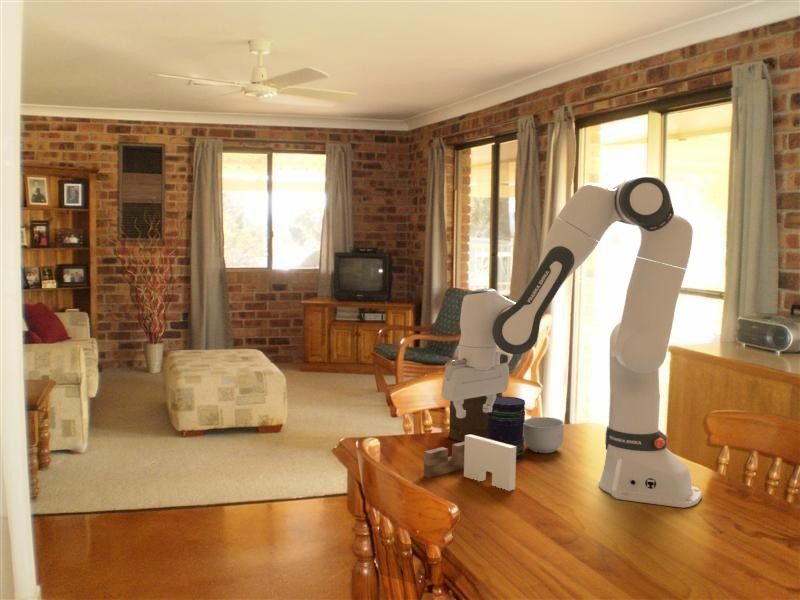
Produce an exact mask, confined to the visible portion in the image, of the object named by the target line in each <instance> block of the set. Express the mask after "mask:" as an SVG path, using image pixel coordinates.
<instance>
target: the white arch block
mask: <svg viewBox="0 0 800 600" xmlns="http://www.w3.org/2000/svg"><path fill="white" fill-rule="evenodd" d="M516 468H517V461H516V446H512V445H509V444H505V443H501V442H498V441H494V440H490V439H486V438H483V437H479V436H475V435H471V434H469V435H465V449H464V468H463V477H465V478H468V479H471V480H473V479H474V481H476V480H477V481H476V482H480V481H481V482H484V481H486V480H487V479H486V478H487V477H486V476H487V472H489V473H491V486H493V487H495V486H496V487H495V488H499V489H501V488H502V490H504V489H505V490H504V491H509V492H511V491H513V490H516Z"/></svg>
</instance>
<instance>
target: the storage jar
mask: <svg viewBox="0 0 800 600" xmlns="http://www.w3.org/2000/svg"><path fill="white" fill-rule="evenodd" d="M525 405H526V400H524V399H523V398H519V397H513V396H503V395H502V396H501V397H496V400H495V402H494V404H493V405H492V412H490V413H487V421H488V434H487V435H486V439H490V440H494V441H498V442H501V443H505V444H509V445H512V446H516V462H518V461H517V460H520V461H522V460H523V459H522V458H524V449H525V441H524V430H523V423H524V421H525V420H526V419H525V416H526V407H525ZM521 459H522V460H521Z"/></svg>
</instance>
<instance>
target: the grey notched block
mask: <svg viewBox="0 0 800 600" xmlns="http://www.w3.org/2000/svg"><path fill="white" fill-rule="evenodd" d="M451 448H452V450H451V456H449V448H447V447H443V446H440V447H437V448H433V449H430V450H429V449H428V450H425V451H424V453H423V477H424V478H425V477H426V478H427V479H428V478H430V479H431V478H432V479H433V478H434V477H439V476H441V475H442V476H443V475H445V474H448V473H452V472H453V473H454V472H457V471H459V469H460V470H463V469H464V449H465V441H464V442H457V443H453V444H452V446H451ZM462 468H463V469H462Z"/></svg>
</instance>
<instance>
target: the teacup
mask: <svg viewBox="0 0 800 600" xmlns="http://www.w3.org/2000/svg"><path fill="white" fill-rule="evenodd" d="M564 424H565V422H564V421H563V420H562V419H559V418H555V417H548V416H547V417H545V416H542V417H541V416H539V417H538V416H537V415H536V416H535V415H533V416H531V417H530V418H526V419H525V421H524V423H523V437H524V445H526V447H527V448H529V450H531V451H532V452H534V453H537V452H539V454H550V453H554V452H556V451H557V450H558V449H559V448H560V447H561V446H562V445H563V442H564Z"/></svg>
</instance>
